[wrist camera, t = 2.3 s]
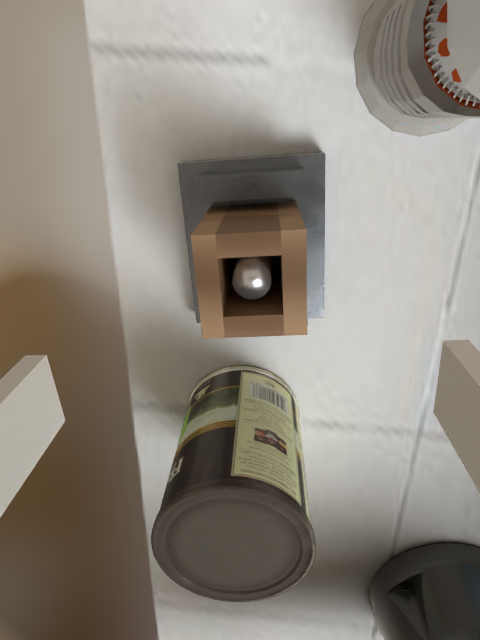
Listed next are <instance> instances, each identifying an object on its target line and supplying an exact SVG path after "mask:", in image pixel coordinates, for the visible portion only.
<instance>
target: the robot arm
mask: <svg viewBox="0 0 480 640" xmlns="http://www.w3.org/2000/svg"><path fill="white" fill-rule="evenodd" d="M434 414H435V416H436V417H437V419H438V421H439V422H440V424H441V426H442V428H443V429H444V431H445V433H446V435H447V436H448V438H449V440H450V442H451V443H452V445H453V447H454V449H455V450H456V452H457V454H458V456H459V457H460V459H461V461H462V463H463V464H464V466H465V468H466V470H467V471H468V473H469V475H470V477H471V478H472V480H473V482H474V484H475V485H476V487H477V489H478V491H479V492H480V352H479V351H478V350H477V349H476V348H475V347H474V346H473V345H472V343H471V342H470V341H469V340H450V341H443V346H442V354H441V361H440V368H439V376H438V383H437V391H436V398H435V405H434ZM64 422H65V418H64V414H63V411H62V408H61V404H60V401H59V397H58V393H57V390H56V387H55V383H54V379H53V376H52V372H51V369H50V365H49V362H48V358H47V355H30V356H24V357H23V358H22V359H21V360H20V361H19V362H18V363H17V364H16V365H15V366H14V367H13V368H12V369H11V370H10V371H9V372H8V373H7V374H6V375H5V376H4V377H3V378H2V379H1V380H0V517H1V516H2V514H3V513H4V511H5V510H6V508H7V507H8V505H9V504H10V502H11V501H12V499H13V498H14V496H15V495H16V493H17V492H18V490H19V489H20V488H21V486H22V485H23V483H24V482H25V480H26V479H27V477H28V476H29V474H30V473H31V471H32V470H33V468H34V467H35V465H36V463H37V462H38V461H39V459H40V458H41V456H42V455H43V453H44V452H45V450H46V448H47V447H48V446H49V444H50V443H51V441H52V440H53V438H54V437H55V435H56V434H57V432H58V431H59V429H60V428H61V426H62V425H63V423H64ZM370 600H371V605H372V610H373V614H374V618H375V621H376V624H377V626H378V628H379V630H380V632H381V634H382V635H383V637H384V639H385V640H480V548H478V547H474V546H470V545H465V544H455V543H442V544H432V545H426V546H422V547H418V548H415V549H412V550H409V551H406V552H404V553H402V554H400V555H398V556H396V557H395V558H393V559H391V560H390V561H389V562H387V563H386V564H385V565H384V566H383V567H382V568H381V569H380V570H379V571H378V572H377V574H376V575H375V577H374V579H373V581H372V583H371V587H370Z"/></svg>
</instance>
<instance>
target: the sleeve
mask: <svg viewBox="0 0 480 640" xmlns="http://www.w3.org/2000/svg"><path fill="white" fill-rule="evenodd" d="M191 243H192V252H193V261H194V269H195V278H196V287H197V295H198V304H199V312H200V321H201V330H202V338H229V337H256V336H283V335H307V245H306V227H305V224H304V221H303V219H302V216H301V213H300V211H299V208H298V205H297V203H296V201H287V202H271V203H255V204H239V205H222V206H211V207H210V208H209V210H208V211H207V212H206V214H205V215H204V217H203V218H202V220H201V221H200V223H199V224H198V226H197V227H196V229H195V230H194V231H193V233H192V234H191ZM276 255H279V267H271V286H270V289H269V291H268V292H267V293H266V294H265V295H264V296H262V297H260V298H258V299H247V298H244V297H242V296H240V295H239V294H238V293H237V292H236V291H235V289H234V287H233V274H234V270H235V269H234V263H233V258H237V257H257V256H276Z"/></svg>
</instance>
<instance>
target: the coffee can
mask: <svg viewBox="0 0 480 640" xmlns="http://www.w3.org/2000/svg"><path fill="white" fill-rule="evenodd" d="M151 544H152V550H153V554H154V557H155V559H156V561H157V563H158V564H159V566H160V567H161V569H162V570H163V571H164V572H165V573H166V574H167V575H168V576H169V577H170V578H171V579H172V580H173V581H174V582H176V583H177V584H179V585H180V586H182V587H184V588H185V589H187V590H189V591H191V592H193V593H196V594H198V595H201V596H204V597H207V598H211V599H215V600H221V601H229V602H250V601H258V600H263V599H267V598H270V597H274V596H277V595H279V594H281V593H283V592H285V591H287V590H289V589H291V588H292V587H294V586H295V585H296V584H297V583H299V582H300V581H301V580H302V579H303V578H304V577H305V576H306V574H307V573H308V571H309V570H310V568H311V566H312V564H313V561H314V558H315V552H316V543H315V537H314V532H313V528H312V525H311V521H310V512H309V503H308V494H307V486H306V477H305V468H304V458H303V451H302V442H301V434H300V425H299V407H298V403H297V400H296V397H295V395H294V393H293V392H292V390H291V389H290V388H289V386H288V385H287V384H286V383H285V382H284V381H283V380H281V379H280V378H279V377H277V376H276V375H274V374H272V373H270V372H268V371H266V370H263V369H260V368H256V367H250V366H232V367H227V368H223V369H220V370H217V371H215V372H213V373H211V374H209V375H208V376H206V377H205V378H204V379H202V380H201V381H200V382H199V383H198V384H197V386H196V387H195V388H194V390H193V392H192V394H191V396H190V398H189V402H188V408H187V413H186V417H185V420H184V424H183V428H182V432H181V435H180V439H179V443H178V446H177V450H176V454H175V457H174V461H173V464H172V468H171V471H170V475H169V479H168V482H167V486H166V489H165V493H164V497H163V500H162V504H161V508H160V511H159V513H158V515H157V517H156V520H155V522H154V525H153V529H152V535H151Z"/></svg>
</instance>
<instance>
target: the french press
mask: <svg viewBox="0 0 480 640" xmlns="http://www.w3.org/2000/svg"><path fill="white" fill-rule="evenodd" d="M354 60H355V72H356V84H357V88H358V90H359V92H360V94H361V96H362V98H363V100H364V102H365V104H366V106H367V108H368V110H369V112H370V113H371V114H372V115H373V116H374V117H376V118H377V119H378V120H379V121H381V122H382V123H383V124H384V125H386V126H387V127H388V128H390V129H391V130H392V131H397V132H401V133H406V134H411V135H415V136H424V135H429V134H433V133H438V132H443V131H448V130H450V129H452V128H453V127H455V126H456V125H458V124H459V123H461V122H463V121H464V120H466V119H467V118H480V0H375V1H374V3H373V4H372V6H371V7H370V9H369V10H368V12H367V13H366V15H365V16H364V18H363V21H362V25H361V29H360V32H359V36H358V40H357V44H356V48H355V51H354Z"/></svg>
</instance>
